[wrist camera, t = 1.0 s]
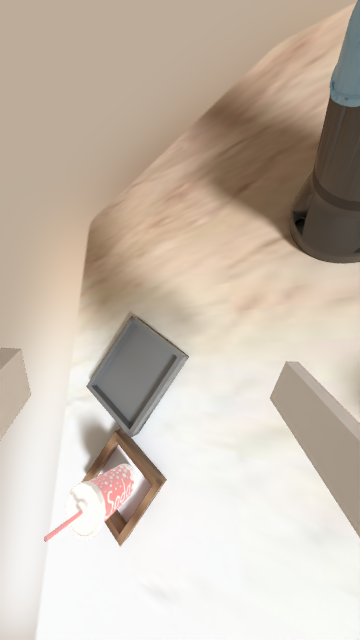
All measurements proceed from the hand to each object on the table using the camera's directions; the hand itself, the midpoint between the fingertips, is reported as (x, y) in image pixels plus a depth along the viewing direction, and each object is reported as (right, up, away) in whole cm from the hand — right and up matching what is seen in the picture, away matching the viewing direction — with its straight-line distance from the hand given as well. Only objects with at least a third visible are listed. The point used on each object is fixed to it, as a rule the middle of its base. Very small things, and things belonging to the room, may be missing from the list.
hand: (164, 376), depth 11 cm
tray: (-7, -7, +28) cm, 30 cm away
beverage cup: (-8, -24, +24) cm, 35 cm away
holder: (-8, -24, +24) cm, 35 cm away
